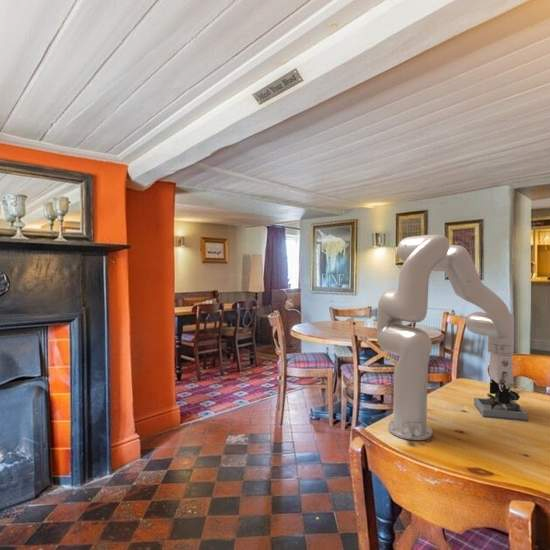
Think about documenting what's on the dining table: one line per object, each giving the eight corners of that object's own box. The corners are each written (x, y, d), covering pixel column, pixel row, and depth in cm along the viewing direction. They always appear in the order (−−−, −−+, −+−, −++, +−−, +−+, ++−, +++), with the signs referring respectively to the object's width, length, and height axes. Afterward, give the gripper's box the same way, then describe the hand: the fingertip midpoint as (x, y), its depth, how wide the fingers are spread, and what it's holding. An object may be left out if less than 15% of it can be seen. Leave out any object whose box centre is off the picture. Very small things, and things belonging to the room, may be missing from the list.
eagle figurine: (497, 412, 126) (524, 403, 124) (485, 391, 130) (511, 382, 128) (494, 416, 132) (520, 407, 130) (482, 396, 136) (507, 387, 135)
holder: (527, 421, 123) (527, 413, 123) (483, 416, 126) (483, 409, 126) (514, 407, 135) (514, 400, 134) (474, 404, 138) (474, 397, 138)
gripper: (522, 355, 120) (521, 408, 121) (504, 344, 137) (503, 391, 138) (495, 353, 122) (494, 406, 123) (481, 343, 139) (480, 389, 140)
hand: (499, 398), depth 130 cm, fingers open, 9 cm apart
